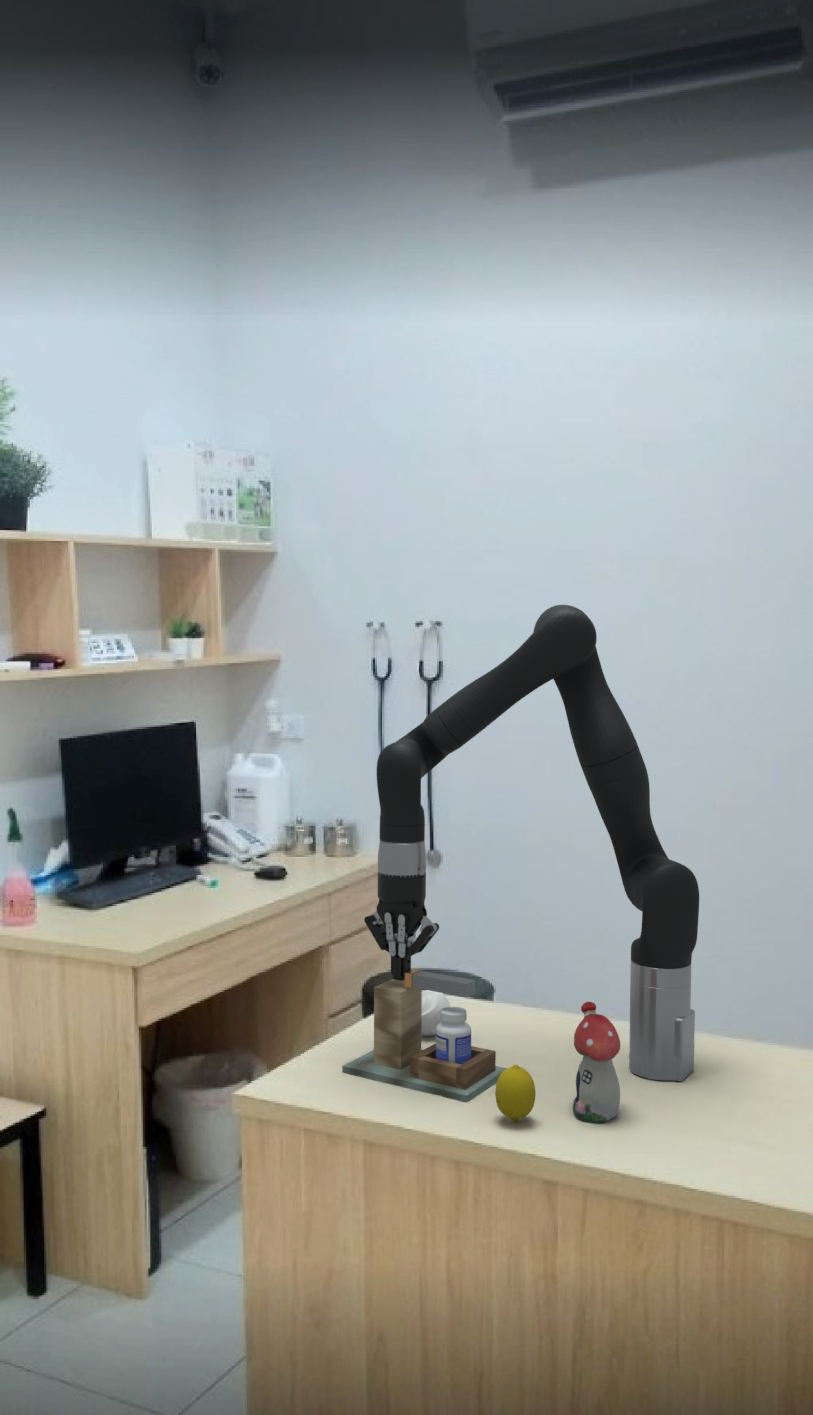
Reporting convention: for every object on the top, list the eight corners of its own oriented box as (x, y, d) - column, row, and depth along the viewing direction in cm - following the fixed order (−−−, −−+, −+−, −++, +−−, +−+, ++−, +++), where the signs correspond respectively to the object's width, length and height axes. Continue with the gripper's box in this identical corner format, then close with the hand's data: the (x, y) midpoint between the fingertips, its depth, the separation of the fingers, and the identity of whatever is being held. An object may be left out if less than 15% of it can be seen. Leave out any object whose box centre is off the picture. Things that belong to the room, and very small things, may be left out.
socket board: (507, 1074, 176) (508, 991, 175) (466, 1102, 165) (467, 1013, 164) (388, 1048, 187) (388, 969, 187) (342, 1072, 176) (342, 988, 176)
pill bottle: (472, 1067, 176) (472, 1005, 175) (470, 1080, 170) (470, 1016, 170) (436, 1066, 176) (437, 1004, 176) (434, 1079, 171) (434, 1015, 171)
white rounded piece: (401, 1028, 197) (401, 984, 197) (443, 1025, 199) (443, 982, 199) (412, 1044, 190) (412, 998, 189) (456, 1040, 191) (456, 995, 191)
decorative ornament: (572, 1098, 166) (573, 997, 166) (617, 1101, 165) (619, 999, 165) (572, 1124, 157) (574, 1016, 156) (621, 1127, 156) (622, 1019, 156)
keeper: (475, 993, 172) (475, 979, 172) (466, 998, 170) (466, 983, 170) (414, 982, 178) (414, 968, 178) (404, 986, 176) (404, 972, 176)
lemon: (540, 1118, 159) (541, 1061, 159) (527, 1132, 154) (528, 1074, 154) (503, 1111, 162) (503, 1055, 161) (489, 1125, 157) (489, 1068, 156)
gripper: (353, 868, 178) (352, 978, 178) (425, 877, 171) (424, 991, 171) (379, 861, 184) (378, 967, 185) (450, 869, 177) (449, 980, 178)
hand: (400, 979), depth 178 cm, fingers closed
